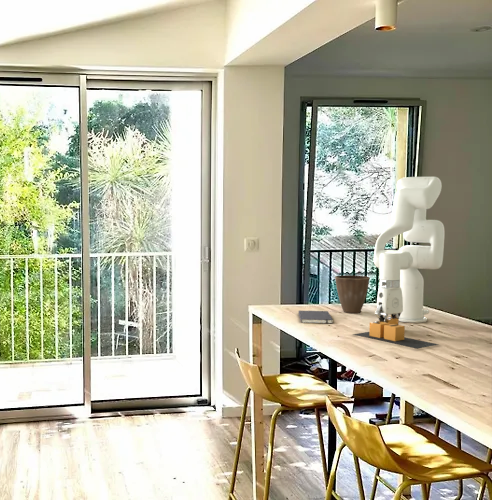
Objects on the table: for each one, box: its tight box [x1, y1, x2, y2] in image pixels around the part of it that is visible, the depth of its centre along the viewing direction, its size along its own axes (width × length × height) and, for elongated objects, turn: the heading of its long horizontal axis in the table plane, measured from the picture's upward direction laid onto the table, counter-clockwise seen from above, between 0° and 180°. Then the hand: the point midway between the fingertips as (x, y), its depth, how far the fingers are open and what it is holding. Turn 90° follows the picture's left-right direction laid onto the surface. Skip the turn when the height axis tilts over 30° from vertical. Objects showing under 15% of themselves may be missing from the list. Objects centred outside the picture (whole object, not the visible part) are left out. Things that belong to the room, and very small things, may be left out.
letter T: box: [386, 316, 400, 325], centre depth 251 cm, size 5×5×5 cm
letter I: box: [384, 324, 406, 341], centre depth 234 cm, size 5×5×5 cm
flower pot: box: [334, 274, 370, 314], centre depth 294 cm, size 15×15×16 cm
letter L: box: [368, 320, 390, 338], centre depth 240 cm, size 5×5×5 cm
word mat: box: [352, 331, 440, 350], centre depth 234 cm, size 12×28×1 cm, turn 30°
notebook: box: [298, 310, 334, 324], centre depth 279 cm, size 13×2×21 cm
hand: (388, 330), depth 251 cm, fingers closed on letter T, 5 cm apart
